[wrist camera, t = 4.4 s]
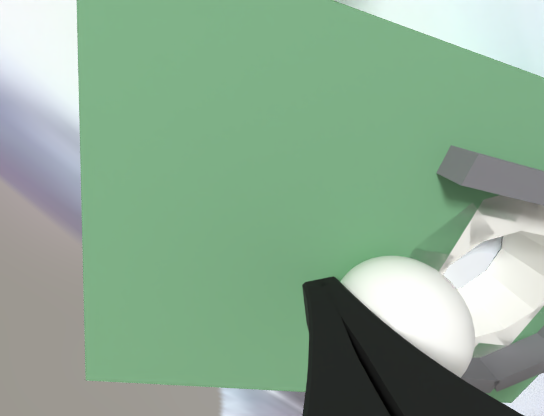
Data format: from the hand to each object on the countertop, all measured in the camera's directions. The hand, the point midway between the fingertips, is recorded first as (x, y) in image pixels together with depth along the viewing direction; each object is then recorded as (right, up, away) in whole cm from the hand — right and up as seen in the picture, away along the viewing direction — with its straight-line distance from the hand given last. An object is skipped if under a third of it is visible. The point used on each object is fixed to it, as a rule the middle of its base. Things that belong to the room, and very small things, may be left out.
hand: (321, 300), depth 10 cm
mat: (+3, +2, +4) cm, 6 cm away
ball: (+3, -1, 0) cm, 3 cm away
